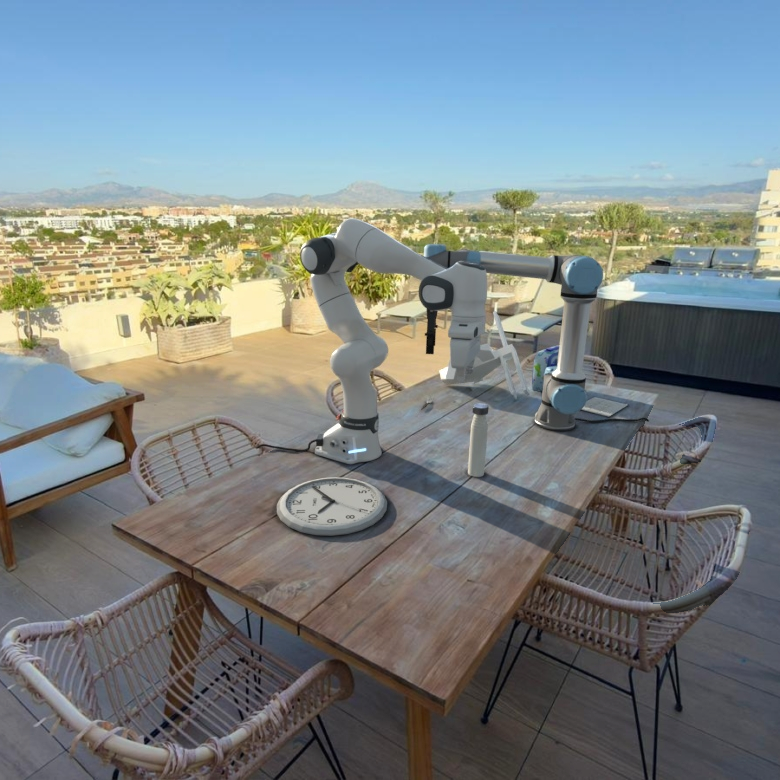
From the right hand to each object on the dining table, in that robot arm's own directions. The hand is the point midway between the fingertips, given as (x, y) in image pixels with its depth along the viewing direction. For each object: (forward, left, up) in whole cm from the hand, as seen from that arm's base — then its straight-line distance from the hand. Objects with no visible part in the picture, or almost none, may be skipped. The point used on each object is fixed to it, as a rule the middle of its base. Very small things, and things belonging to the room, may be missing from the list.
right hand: (430, 349), depth 189 cm
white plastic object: (-22, -50, -31) cm, 63 cm away
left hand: (-11, +49, +4) cm, 51 cm away
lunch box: (-56, -59, -31) cm, 87 cm away
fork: (+2, -27, -31) cm, 41 cm away
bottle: (-17, +35, -31) cm, 50 cm away
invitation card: (-73, -38, -31) cm, 88 cm away
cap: (-17, +35, -9) cm, 40 cm away
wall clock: (+23, +61, -31) cm, 72 cm away
